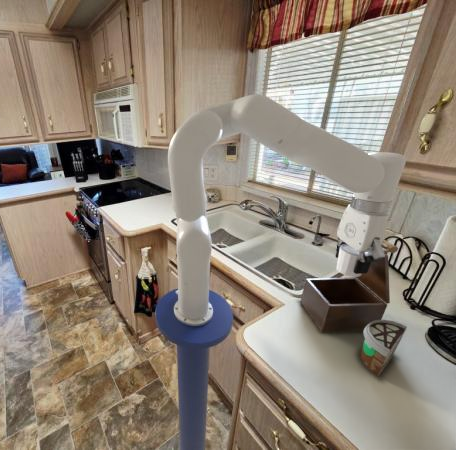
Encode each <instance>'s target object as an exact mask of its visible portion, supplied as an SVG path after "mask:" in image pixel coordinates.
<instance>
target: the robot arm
mask: <svg viewBox="0 0 456 450" xmlns="http://www.w3.org/2000/svg"><path fill="white" fill-rule="evenodd" d="M239 134H243V135H245V136H247V137H248V138H251V139H252V140H254V141H256V142H257V143H259V144H261V145H262V146H265V147H266V148H268V149H269V150H271V151H273V152H275V153H276V154H277V155H279V156H282V157H283V158H285V159H287V160H289V161H291V162H292V163H295V164H297V165H301V166H303V167H305V168H307V169H310V170H312V171H314V172H316V173H318V174H320V175H321V176H322V177H323V179H325V180H326V181H327V182H329V183H331V184H334V185H336V186H338V187H341V188H343V189H344V190H346V191H348V192H351V193H352V197H351V199H350V203H349V204H348V205H347V207H346V208H345V210H344V212H343V214H342V216H341V219H340V222H339V224H338V226H337V227H336V231H337V232H336V236H337V239H338V240H337V249H336V253H335V255H334V257H335V258H337V259H338V255H339V249H340V245H342V244H348V245H349V246H350V247H352V248H353V249H355V250H356V251H358V252H359V255H360V260H357V262H356V265H355V268H354V273H355V274H366V273H367V272H368V270H369V267H370V264H371V262H374V261H376V260H378V259H381V258H383V257H385V254H386V253H385V254H384V252H383V250H384V248H382V247H381V245H382V242H383V239H384V240H385V235H386V233H387V232H386V231H387V226H388V220H389V211H390V208H391V205H392V202H393V199H394V197H395V194H396V191H397V189H398V186H399V183H400V181H401V178H402V174H403V171H404V169H405V166H406V163H407V158H406V156H405V155H404V154H401V153H397V152H389V151H388V152H387V151H385V152H384V151H383V152H382V151H378V152H377V151H376V152H370V153H367V152H365V151H364V150H363V149H361V148H359V147H358V146H356V145H354V144H352V143H350V142H348V141H346V140H344V139H343V138H340V137H338V136H336V135H334V134H332V133H330V132H328V131H327V130H325V129H323V128H322V127H319V126H317V125H315V124H313V123H311V122H310V121H308V120H306V119H305V118H303V117H302V116H300V115H298V114H296V113H295V112H293V111H291V110H290V109H288V108H287V107H285V106H283V105H282V104H280V103H278V102H276V101H275V100H274V99H272V98H270V97H269V96H266V95H264V94H260V93H254V94H248V95H244V96H242V97H238V98H236V99H233V100H231V101H227V102H224V103H221V104H217V105H213V106H210V107H207V108H202V109H199V110H196V111H194V112H193V113H191V115H189V117H188V118H187V119H185V121H184V122H183V123H181V125H180V126H179V127H178V128H177V129H176V130H175V132H174V134H173V136H172V137H171V140H170V142H169V146H168V150H167V167H168V174H169V184H170V190H171V206H172V209H173V212H174V213H175V217H176V262H177V266H176V267H177V289H178V290H177V291H176V294H177V295H178V301H177V302H176V304H175V306H174V314H175V316H176V318H177V319H178V320H179V321H180V322H182V323H184V324H186V325H190V326H200V325H203V324H206V323H207V322H209V321H210V320H211V318H212V316H213V308H212V305H211V304H210V303H209V290H210V273H211V272H210V271H211V270H210V269H211V258H212V257H211V255H212V250H213V242H212V235H211V231H210V228H209V227H210V226H209V223H208V216H207V204H208V200H207V199H208V197H207V194H206V189H205V180H204V165H203V164H204V158H205V155H206V153H207V152H208V151H209V150H210V149H211V148H212V147H214V146H215V145H216V144H217V143H218V142H219V141H220V140H222V139H225V138H229V137H234V136H237V135H239ZM368 248H369V249H368ZM365 252H368V256H366V257H365Z"/></svg>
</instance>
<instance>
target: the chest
mask: <svg viewBox="0 0 456 450" xmlns="http://www.w3.org/2000/svg"><path fill="white" fill-rule="evenodd" d="M301 294H302V295H301V298H300V301H299V303H300V304H301V305H302V307H303V308H304V309H305V311H306V312H307V314H308V315H309V316H310V318H311V319H312V321H313V322H314V323H315V325H316V326H317V327H318V329H319V330H320V331H321V333H330V332H332V333H335V332H364V329H365V327H366V326H367V325H368V324H369V323H371V322H372V321H375V320H383V316H384V314H385V312H386V310H387V307H388V304H386V303H385V302H384V301H383V300H382V299H380V298H379V297H378V296H377V295H376V294H375V293H374V292H372V291H371V290H370V289H369V288H368V287H367V286H365V285H364V284H363V283H362V282H361V281H360V280H358V279H357V278H356V277H350V276H347V277H316V278H315V277H314V278H305V280H304V285H303V289H302V293H301Z"/></svg>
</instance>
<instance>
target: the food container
mask: <svg viewBox="0 0 456 450" xmlns="http://www.w3.org/2000/svg"><path fill="white" fill-rule="evenodd" d="M407 329H408V326H407V325H406V324H405V325H404V324H402V323H400V322H396V321H393V320H388V319H381V320H375V321H372V322H371V323H369V324H368V325H367V326H366V327H365V329H364V331H363V336H364V341H363V345H362V349H361V351H360V359H361V362H362V364H363V365H364V366H365V367H366V369H368V371H370V373H372V374H373V375H375V376H376V377H379V376H380V374H381V373H382V372H383V371H384V369H385V367H387V365H388V363H389V362H390V360H391V359H392V357H393V356H394V354H395V352H396V350H397V348H398V346H399V344H400V342H401V340H402V338H403V336H404V334H405V332H406V330H407Z"/></svg>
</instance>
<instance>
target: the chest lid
mask: <svg viewBox="0 0 456 450" xmlns="http://www.w3.org/2000/svg"><path fill="white" fill-rule="evenodd" d="M381 247H382V249H383V252H384V254H385V257H383V258H381V259H378V260H376V261H374V262H371V264H370V267H369V270H368V272H367V273H366V274H361V275H360V276H359V277H356V278H357V279H358V280H359V281H360V282H362V283H363V284H364V285H365V286H366V287H367V288H369V289H370V290H371V291H372V292H373V293H374V294H376V295H377V296H378V297H379V298H380V299H381V300H383V301H384V302H385V303H386V304H387V305H388V304H390V303H391V299H390V297H391V296H390V271H389V270H390V268H389V267H390V266H389V265H390V264H389V255H388V254H386V253H390V254H395V253H397V252H398V250H399V246H396V245H394V244H393V243H391V242H390V241H388V240H386V239H385V238H384V239H383V242H382V245H381ZM368 249H369V248H368Z"/></svg>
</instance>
